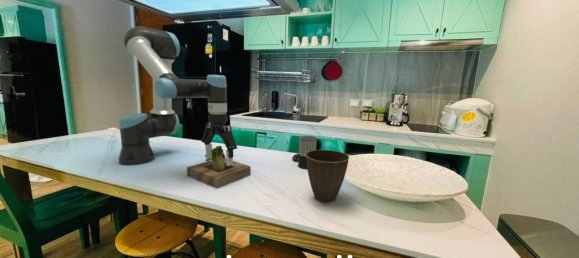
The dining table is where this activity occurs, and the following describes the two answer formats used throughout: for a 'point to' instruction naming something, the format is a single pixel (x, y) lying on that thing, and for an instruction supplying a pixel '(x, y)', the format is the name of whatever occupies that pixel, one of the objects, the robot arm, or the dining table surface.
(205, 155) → the brown animal figurine
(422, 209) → the dining table surface
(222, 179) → the tray
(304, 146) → the milk frother
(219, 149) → the fennel bulb
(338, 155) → the plant pot
